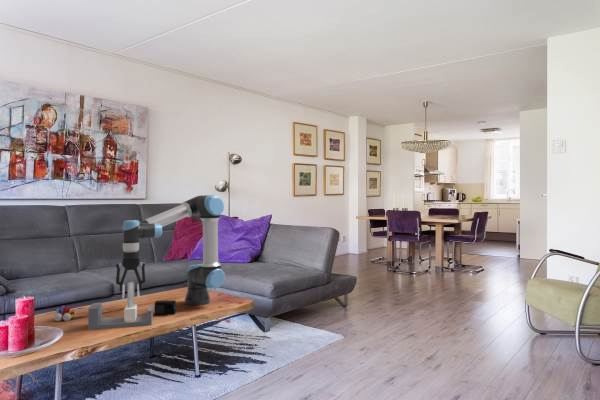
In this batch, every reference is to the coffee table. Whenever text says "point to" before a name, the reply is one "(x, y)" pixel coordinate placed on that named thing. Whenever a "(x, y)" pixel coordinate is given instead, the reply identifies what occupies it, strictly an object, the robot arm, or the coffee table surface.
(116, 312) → the coffee table surface
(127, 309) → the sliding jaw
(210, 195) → the robot arm
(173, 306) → the digital camera
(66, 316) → the rainbow disc rattle
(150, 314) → the bench clamp
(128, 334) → the coffee table surface
